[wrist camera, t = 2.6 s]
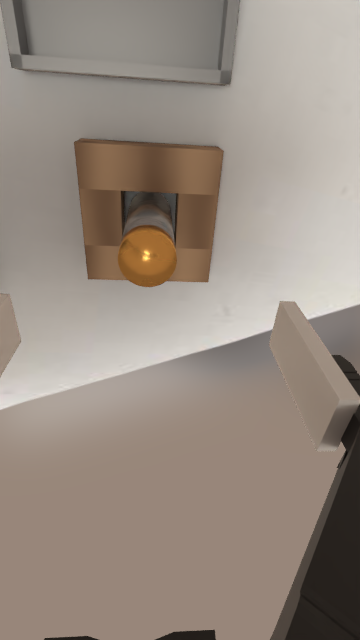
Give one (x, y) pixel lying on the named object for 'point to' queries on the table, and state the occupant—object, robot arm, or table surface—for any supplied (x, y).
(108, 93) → the table surface
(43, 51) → the tray
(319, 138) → the table surface
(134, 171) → the socket block
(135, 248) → the pin
